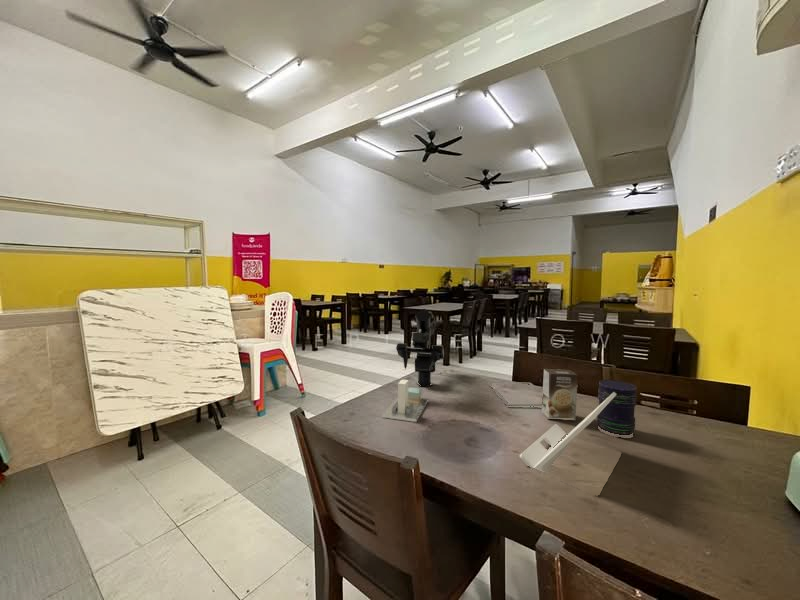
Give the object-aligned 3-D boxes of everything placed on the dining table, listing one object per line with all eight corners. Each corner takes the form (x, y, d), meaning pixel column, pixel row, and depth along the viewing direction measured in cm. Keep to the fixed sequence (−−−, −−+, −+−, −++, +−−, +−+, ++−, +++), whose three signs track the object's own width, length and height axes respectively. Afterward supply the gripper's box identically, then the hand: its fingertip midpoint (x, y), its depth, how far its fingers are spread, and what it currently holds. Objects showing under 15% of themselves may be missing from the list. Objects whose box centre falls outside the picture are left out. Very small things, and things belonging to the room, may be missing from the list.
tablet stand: (623, 454, 87) (626, 393, 86) (599, 499, 69) (602, 422, 68) (553, 432, 99) (555, 378, 98) (518, 464, 82) (520, 400, 81)
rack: (398, 398, 127) (398, 390, 127) (427, 401, 124) (428, 393, 123) (382, 417, 109) (382, 408, 109) (416, 422, 105) (416, 413, 105)
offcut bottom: (404, 396, 126) (404, 391, 126) (421, 398, 124) (421, 393, 124) (400, 401, 121) (400, 396, 121) (418, 403, 119) (418, 398, 119)
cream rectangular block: (401, 408, 114) (401, 379, 114) (408, 409, 114) (408, 380, 113) (397, 413, 110) (398, 383, 109) (404, 414, 109) (404, 384, 109)
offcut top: (404, 391, 126) (404, 386, 125) (421, 393, 124) (421, 388, 123) (400, 396, 121) (400, 390, 121) (418, 398, 119) (418, 392, 119)
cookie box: (547, 420, 107) (549, 373, 106) (541, 412, 114) (542, 368, 113) (576, 421, 106) (578, 374, 105) (568, 413, 113) (569, 369, 112)
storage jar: (597, 434, 98) (599, 386, 97) (595, 421, 106) (597, 378, 105) (637, 442, 93) (640, 392, 92) (631, 428, 102) (633, 382, 101)
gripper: (397, 323, 129) (389, 355, 119) (443, 325, 124) (438, 359, 114) (402, 339, 137) (395, 371, 127) (445, 342, 132) (441, 375, 122)
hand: (416, 369), depth 122 cm, fingers open, 9 cm apart
